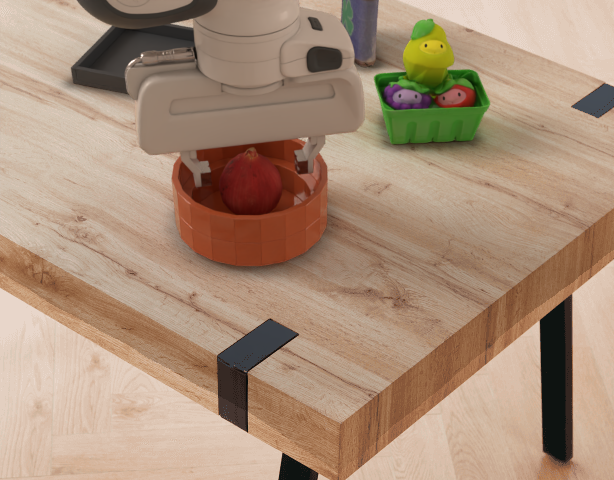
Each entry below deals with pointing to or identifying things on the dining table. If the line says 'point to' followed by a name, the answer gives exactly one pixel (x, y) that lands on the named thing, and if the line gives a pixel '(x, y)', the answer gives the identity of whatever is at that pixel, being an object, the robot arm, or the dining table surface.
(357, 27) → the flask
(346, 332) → the dining table surface
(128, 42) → the tray
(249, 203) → the onion
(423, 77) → the fruit basket
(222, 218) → the bowl
